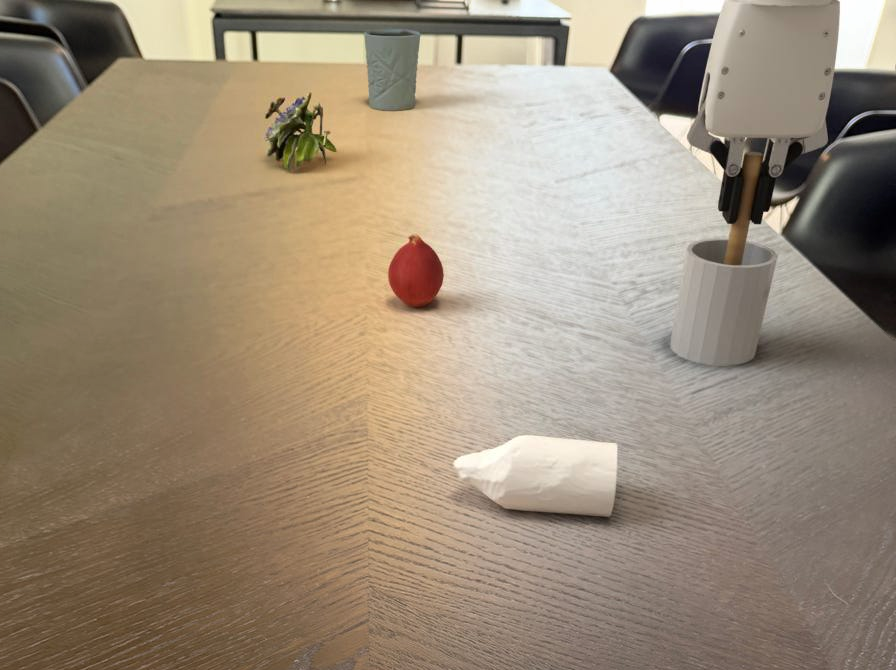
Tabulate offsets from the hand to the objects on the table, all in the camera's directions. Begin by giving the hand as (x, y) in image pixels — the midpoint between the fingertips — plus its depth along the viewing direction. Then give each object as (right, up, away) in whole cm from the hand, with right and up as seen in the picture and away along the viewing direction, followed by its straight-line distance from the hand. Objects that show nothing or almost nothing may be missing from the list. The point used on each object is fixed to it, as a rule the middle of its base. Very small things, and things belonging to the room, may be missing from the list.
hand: (741, 218), depth 91 cm
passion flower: (-47, +36, +65) cm, 88 cm away
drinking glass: (-34, +62, +98) cm, 121 cm away
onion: (-30, -3, +17) cm, 34 cm away
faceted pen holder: (0, -10, +8) cm, 13 cm away
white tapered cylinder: (-21, -28, -14) cm, 38 cm away
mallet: (0, -7, +6) cm, 10 cm away
